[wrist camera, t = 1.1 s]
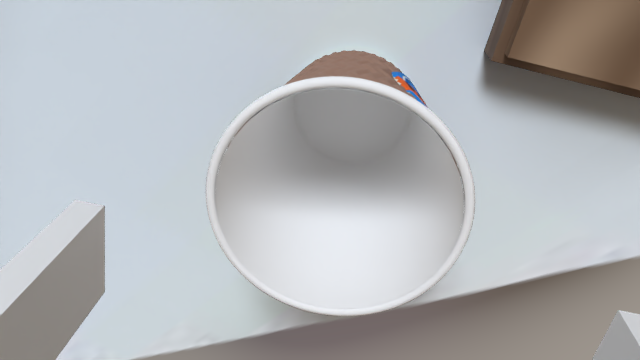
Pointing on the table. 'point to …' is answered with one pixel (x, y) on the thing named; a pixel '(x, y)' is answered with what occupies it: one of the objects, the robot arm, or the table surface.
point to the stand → (571, 40)
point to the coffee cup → (341, 189)
